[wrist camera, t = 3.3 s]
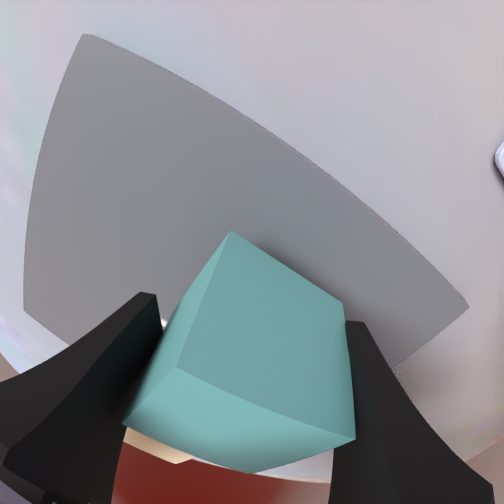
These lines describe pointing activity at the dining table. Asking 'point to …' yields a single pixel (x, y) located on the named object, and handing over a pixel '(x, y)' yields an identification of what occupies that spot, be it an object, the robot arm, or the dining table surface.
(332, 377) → the teal block
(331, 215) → the gray board
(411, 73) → the dining table surface
